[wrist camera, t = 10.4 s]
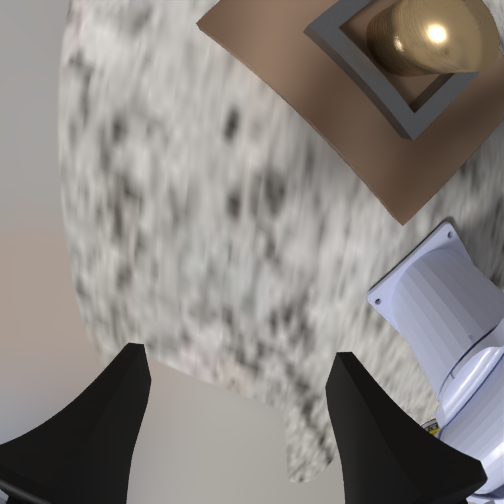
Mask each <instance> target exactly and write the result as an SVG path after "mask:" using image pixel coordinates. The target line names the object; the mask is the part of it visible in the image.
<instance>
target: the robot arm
mask: <svg viewBox="0 0 504 504" xmlns="http://www.w3.org/2000/svg"><path fill="white" fill-rule="evenodd" d="M449 232H450V234H449V235H448V233H449ZM447 235H448V236H447ZM366 298H367V300H368V302H369V303H370V304H371V305H372V306H373V307H374V308H375V309H376V310H377V311H378V312H379V313H380V314H381V315H382V316H383V317H384V318H385V319H386V320H387V321H388V322H389V323H390V324H391V325H392V326H393V327H394V328H395V329H396V330H397V331H398V332H399V333H400V334H401V335H402V336H403V337H404V338H405V339H406V341H407V343H408V344H409V346H410V348H411V350H412V352H413V354H414V355H415V357H416V359H417V361H418V363H419V365H420V367H421V368H422V370H423V372H424V374H425V376H426V378H427V380H428V382H429V384H430V386H431V388H432V390H433V392H434V394H435V396H436V398H437V400H438V402H439V408H438V409H437V411H436V412H435V414H434V416H435V418H436V420H437V423H438V425H439V427H440V429H439V430H438V431H437V433H436V434H435V436H434V435H432V434H431V433H429V432H428V431H427V430H425V429H424V428H423V427H421V426H420V425H419V424H418V423H417V422H415V421H414V420H413V419H412V418H411V417H410V416H408V415H407V414H406V413H405V412H404V411H403V410H402V409H401V408H400V407H399V406H398V405H397V404H396V403H395V402H394V401H393V400H392V399H391V398H390V397H389V396H388V395H387V394H386V392H385V391H384V390H383V389H382V388H381V387H380V386H379V384H378V383H377V382H376V381H375V380H374V379H373V377H372V376H371V375H370V374H369V372H368V371H367V370H366V369H365V368H364V366H363V365H362V364H361V363H360V361H359V360H358V359H357V358H356V356H355V355H354V354H353V353H352V352H337V353H336V356H335V359H334V362H333V366H332V369H331V372H330V375H329V378H328V381H327V383H326V386H325V388H326V397H327V405H328V411H329V415H330V419H331V423H332V427H333V431H334V434H335V438H336V442H337V446H338V450H339V454H340V459H341V464H342V472H343V480H344V491H345V504H468V502H467V501H470V502H475V503H477V504H504V293H503V292H502V291H501V290H500V289H499V288H498V287H497V286H496V285H494V284H493V283H492V282H491V281H490V280H489V279H488V278H487V277H486V276H485V275H484V274H483V273H482V272H481V271H480V270H479V269H478V268H476V267H475V266H474V264H473V262H472V260H471V258H470V256H469V254H468V253H467V251H466V249H465V247H464V245H463V243H462V242H461V240H460V238H459V236H458V235H457V233H456V231H455V229H454V228H453V226H452V225H451V224H450V223H449V222H443V223H442V224H441V225H440V226H439V227H438V228H437V229H436V230H435V231H434V232H433V233H432V234H431V235H430V236H429V237H428V238H427V239H426V240H425V241H424V242H423V243H422V244H421V245H420V246H419V247H417V248H416V249H415V250H414V251H413V252H412V253H411V254H410V255H409V256H408V257H407V258H406V259H405V260H404V261H403V262H401V263H400V264H399V265H398V266H397V267H396V268H395V269H394V270H393V271H392V272H391V273H389V274H388V275H387V276H386V277H385V278H384V279H383V280H382V281H380V282H379V283H378V284H377V285H376V286H375V287H374V288H372V289H371V290H370V291H369V292H368V293H367V296H366ZM377 299H379V300H378V301H377V302H375V301H376V300H377ZM150 386H151V376H150V371H149V367H148V363H147V358H146V353H145V348H144V344H136V343H128V344H127V345H126V346H125V347H124V348H123V349H122V350H121V351H120V353H119V354H118V355H117V356H116V357H115V358H114V359H113V361H112V362H111V363H110V364H109V365H108V366H107V367H106V368H105V370H104V371H103V372H102V373H101V374H100V375H99V376H98V377H97V378H96V379H95V380H94V381H93V382H92V383H91V384H90V385H89V386H88V387H87V388H86V389H85V390H84V391H83V392H82V393H81V394H80V395H79V396H78V397H77V398H76V399H74V401H72V402H71V403H70V404H69V405H67V406H66V407H65V408H64V409H63V410H61V411H60V412H58V413H57V414H56V415H54V416H53V417H52V418H50V419H49V420H47V421H46V422H44V423H43V424H41V425H40V426H38V427H37V428H35V429H33V430H31V431H29V432H27V433H26V434H24V435H22V436H20V437H18V438H16V439H13V440H11V441H9V442H7V443H4V444H1V445H0V489H1V490H2V491H3V492H4V493H6V494H7V495H8V496H9V497H8V500H7V501H6V500H4V499H3V498H1V497H0V504H126V500H127V490H128V480H129V473H130V467H131V460H132V455H133V451H134V447H135V443H136V440H137V436H138V433H139V430H140V426H141V423H142V420H143V416H144V413H145V410H146V406H147V403H148V397H149V391H150Z"/></svg>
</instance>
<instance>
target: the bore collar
mask: <svg viewBox="0 0 504 504" xmlns="http://www.w3.org/2000/svg"><path fill="white" fill-rule="evenodd" d="M371 1H372V0H339V1H337V2H336V3H335V4H333V5H332V6H331V7H330V8H328V9H327V10H326V11H325V12H323V13H322V14H321V15H320V16H319V17H317V18H316V19H315V20H314V21H313V22H311V23H310V24H309V25H308V26H307V27H306V28H305V30H304V31H303V33H304V34H305V35H306V36H308V37H309V38H310V39H311V40H312V41H313V42H314V43H315V44H316V45H317V46H318V47H320V48H321V49H322V50H323V51H324V52H325V53H326V54H327V55H328V56H329V57H330V58H331V59H332V60H333V61H334V62H335V63H336V64H337V65H338V66H339V67H340V68H341V69H342V70H343V71H344V72H345V73H346V74H347V75H348V76H349V77H350V78H351V80H352V81H353V82H354V83H355V84H356V85H357V86H358V87H359V88H360V89H361V90H362V91H363V93H364V94H365V95H366V96H367V97H368V98H369V99H370V100H371V102H372V103H373V104H374V105H375V106H376V107H377V109H378V110H379V111H380V112H381V113H382V115H383V116H384V117H385V118H386V119H387V121H388V122H389V123H390V124H391V126H392V127H393V128H394V129H395V131H396V132H397V133H398V134H399V136H400V137H402V138H405V139H409V140H412V141H414V140H415V139H416V138H417V137H418V136H419V135H420V134H421V133H422V132H423V131H424V130H425V129H426V128H427V127H428V126H429V125H430V124H431V123H432V122H433V121H434V120H435V119H436V118H437V117H438V116H439V115H440V114H441V113H442V111H443V110H444V109H445V108H446V107H447V106H448V105H449V104H450V103H451V102H452V101H453V100H454V99H455V98H456V97H457V96H458V95H459V94H460V93H461V92H462V91H463V90H464V89H465V88H466V87H467V85H468V84H469V83H470V82H471V81H472V80H473V79H474V78H475V77H476V76H477V75H478V74H479V73H480V72H481V71H480V72H461V73H446V74H440V75H439V76H438V77H437V78H436V79H435V80H434V81H433V82H432V83H431V84H430V85H429V86H428V87H427V88H426V89H425V90H424V91H423V92H422V93H421V94H420V95H419V96H418V97H417V98H416V99H415V100H413V101H412V102H411V103H410V104H409V105H407V103H406V102H405V101H404V100H403V98H402V97H401V96H400V94H399V93H398V92H397V91H396V90H395V88H394V87H393V86H392V85H391V84H390V82H389V81H388V80H387V79H386V78H385V76H384V75H383V74H382V73H381V72H380V71H379V70H378V68H377V67H376V66H375V65H374V64H373V63H372V62H371V61H370V60H369V59H368V57H367V56H366V55H365V54H364V53H363V52H362V51H361V50H360V49H359V48H358V47H357V46H356V45H355V44H354V43H353V42H352V41H351V40H350V39H349V38H348V37H347V36H346V35H345V34H344V33H343V32H342V31H341V30H340V29H339V28H338V27H340V26H341V25H342V24H343V23H344V22H346V21H347V20H348V19H349V18H351V17H352V16H353V15H354V14H356V13H357V12H358V11H359V10H361V9H362V8H363V7H364V6H366V5H367V4H368V3H369V2H371Z"/></svg>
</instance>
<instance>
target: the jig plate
mask: <svg viewBox="0 0 504 504" xmlns="http://www.w3.org/2000/svg"><path fill="white" fill-rule="evenodd" d="M337 1H339V0H220V1H219V2H218V3H217V4H216V5H215V6H214V7H212V8H211V9H210V10H209V11H208V12H207V13H206V14H205V15H204V16H203V17H202V18H201V19H200V20H199V21H198V22H197V23H196V24H197V26H198V27H199V29H200V30H201V31H203V32H204V33H205V34H207V35H208V36H209V37H211V38H212V39H213V40H214V41H216V42H217V43H218V44H220V45H221V46H222V47H223V48H225V49H226V50H227V51H228V52H230V53H231V54H232V55H233V56H235V57H236V58H237V59H238V60H240V61H241V62H242V63H243V64H244V65H246V66H247V67H248V68H249V69H250V70H251V71H253V72H254V73H255V74H256V75H257V76H258V77H260V78H261V79H262V80H263V81H264V82H265V83H266V84H268V85H269V86H270V87H271V88H272V89H273V90H274V91H275V92H276V93H278V94H279V95H280V96H281V97H282V98H283V99H284V100H285V101H286V102H287V103H288V104H289V105H290V106H292V107H293V108H294V109H295V110H296V111H297V112H298V113H299V114H300V115H301V116H302V117H303V118H304V119H305V120H306V121H307V122H308V123H309V124H310V125H311V126H312V127H313V128H314V129H315V130H316V131H317V132H318V133H319V134H320V135H321V136H322V137H323V138H324V139H325V140H326V141H327V142H328V143H329V144H330V145H331V146H332V148H333V149H334V150H335V151H336V152H337V153H338V154H339V155H340V156H341V157H342V158H343V159H344V160H345V161H346V163H347V164H348V165H349V166H350V167H351V168H352V169H353V170H354V171H355V173H356V174H357V175H358V176H359V177H360V178H361V179H362V181H363V182H364V183H365V184H366V185H367V186H368V187H369V189H370V190H371V191H372V192H373V193H374V195H375V196H376V197H377V198H378V199H379V201H380V202H381V203H382V204H383V205H384V207H385V208H386V209H387V210H388V212H389V213H390V214H391V215H392V217H393V218H395V219H396V220H397V221H398V222H399V223H400V224H401V225H402V226H403V225H404V224H405V223H406V222H407V221H408V220H409V219H411V218H412V217H413V216H414V215H415V214H416V213H417V212H418V211H419V210H420V209H421V208H422V207H423V206H424V205H425V204H426V203H427V202H428V201H429V200H430V199H431V198H432V197H433V196H434V195H435V194H436V193H437V192H438V190H439V189H440V188H441V187H442V186H443V185H444V184H445V183H446V182H447V181H448V180H449V179H450V178H451V177H452V176H453V175H454V174H455V173H456V172H457V171H458V169H459V168H460V167H461V166H462V165H463V164H464V163H465V162H466V161H467V160H468V159H469V157H470V156H471V155H472V154H473V153H474V152H475V151H476V150H477V149H478V147H479V146H480V145H481V144H482V143H483V142H484V141H485V139H486V138H487V137H488V136H489V135H490V134H491V133H492V131H493V130H494V129H495V128H496V127H497V126H498V124H499V123H500V122H501V121H502V120H503V118H504V55H503V53H502V52H501V50H500V48H499V54H498V57H497V60H496V62H495V63H494V64H493V66H492V67H490V68H489V69H487V70H485V71H481V72H480V73H479V74H478V75H477V76H476V77H475V78H474V79H473V80H472V81H471V82H470V83H469V84H468V85H467V87H466V88H465V89H464V90H463V91H462V92H461V93H460V94H459V95H458V96H457V97H456V98H455V99H454V100H453V101H452V102H451V103H450V104H449V105H448V106H447V107H446V108H445V109H444V110H443V111H442V113H441V114H440V115H439V116H438V117H437V118H436V119H435V120H434V121H433V122H432V123H431V124H430V125H429V126H428V127H427V128H426V129H425V130H424V131H423V132H422V133H421V134H420V135H419V136H418V137H417V138H416V139H415V140H414V141H412V140H409V139H405V138H402V137H400V136H399V134H398V133H397V132H396V131H395V129H394V128H393V127H392V126H391V124H390V123H389V122H388V121H387V119H386V118H385V117H384V116H383V115H382V113H381V112H380V111H379V110H378V109H377V107H376V106H375V105H374V104H373V103H372V102H371V100H370V99H369V98H368V97H367V96H366V95H365V94H364V93H363V91H362V90H361V89H360V88H359V87H358V86H357V85H356V84H355V83H354V82H353V81H352V80H351V78H350V77H349V76H348V75H347V74H346V73H345V72H344V71H343V70H342V69H341V68H340V67H339V66H338V65H337V64H336V63H335V62H334V61H333V60H332V59H331V58H330V57H329V56H328V55H327V54H326V53H325V52H324V51H323V50H322V49H321V48H320V47H318V46H317V45H316V44H315V43H314V42H313V41H312V40H311V39H310V38H309V37H308V36H306V35H305V34H304V33H303V31H304V30H305V28H306V27H307V26H308V25H309V24H310V23H311V22H313V21H314V20H315V19H316V18H317V17H319V16H320V15H321V14H322V13H323V12H325V11H326V10H327V9H328V8H330V7H331V6H332V5H333V4H335V3H336V2H337ZM398 1H399V0H372V1H371V2H369V3H368V4H367V5H366V6H364V7H363V8H362V9H361V10H359V11H358V12H357V13H356V14H354V15H353V16H352V17H351V18H349V19H348V20H347V21H346V22H344V23H343V24H342V25H341V26H340V27H338V28H339V29H340V30H341V31H342V32H343V33H344V34H345V35H346V36H347V37H348V38H349V39H350V40H351V41H352V42H353V43H354V44H355V45H356V46H357V47H358V48H359V49H360V50H361V51H362V52H363V53H364V54H365V55H366V56H367V57H368V59H369V60H370V61H371V62H372V63H373V64H374V65H375V66H376V67H377V68H378V70H379V71H380V72H381V73H382V74H383V75H384V76H385V78H386V79H387V80H388V81H389V82H390V84H391V85H392V86H393V87H394V88H395V90H396V91H397V92H398V93H399V94H400V96H401V97H402V98H403V100H404V101H405V102H406V103H407V105H409V104H410V103H411V102H412V101H413V100H415V99H416V98H417V97H418V96H419V95H420V94H421V93H422V92H423V91H424V90H425V89H426V88H427V87H428V86H429V85H430V84H431V83H432V82H433V81H434V80H435V79H436V78H437V77H438V76H439V75H440V74H434V75H424V76H415V77H400V76H397V75H394V74H392V73H390V72H388V71H387V70H385V69H384V68H383V67H381V66H380V65H379V64H378V62H377V61H376V60H375V59H374V57H373V56H372V54H371V52H370V50H369V47H368V44H367V39H366V31H367V26H368V24H369V22H370V20H371V19H372V18H373V17H374V16H375V15H376V14H378V13H380V12H381V11H383V10H384V9H386V8H388V7H389V6H391V5H393V4H394V3H396V2H398Z"/></svg>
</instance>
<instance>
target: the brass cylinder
mask: <svg viewBox="0 0 504 504" xmlns="http://www.w3.org/2000/svg"><path fill="white" fill-rule="evenodd" d="M366 39H367V44H368V47H369V50H370V52H371V54H372V56H373V57H374V59H375V60H376V61H377V62H378V64H379V65H380V66H381V67H383V68H384V69H385V70H387V71H388V72H390V73H392V74H394V75H397V76H400V77H415V76H424V75H434V74H446V73H461V72H480V71H485V70H487V69H489V68H490V67H492V66H493V64H494V63H495V62H496V60H497V57H498V54H499V48H500V41H499V34H498V30H497V26H496V23H495V21H494V19H493V16H492V14H491V13H490V11H489V9H488V8H487V6H486V5H485V4H484V2H483V1H482V0H399V1H398V2H396V3H394V4H393V5H391V6H389V7H388V8H386V9H384V10H383V11H381V12H380V13H378V14H376V15H375V16H374V17H373V18H372V19H371V20H370V22H369V24H368V26H367V31H366Z"/></svg>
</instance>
